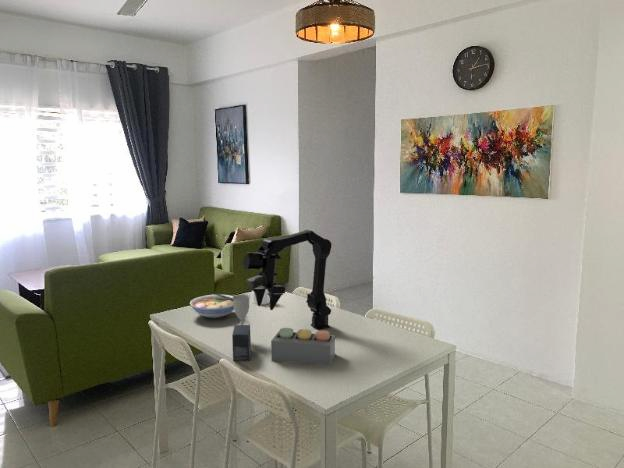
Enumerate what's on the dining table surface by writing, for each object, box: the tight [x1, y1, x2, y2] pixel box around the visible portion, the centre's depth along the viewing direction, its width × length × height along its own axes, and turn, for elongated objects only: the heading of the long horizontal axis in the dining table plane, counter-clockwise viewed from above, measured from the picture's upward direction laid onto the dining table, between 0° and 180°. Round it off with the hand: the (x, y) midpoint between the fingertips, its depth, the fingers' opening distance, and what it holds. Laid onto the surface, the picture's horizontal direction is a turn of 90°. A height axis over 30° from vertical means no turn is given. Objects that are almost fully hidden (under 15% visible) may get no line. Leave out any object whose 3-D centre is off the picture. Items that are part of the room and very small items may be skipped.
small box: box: [231, 324, 252, 362], centre depth 181 cm, size 11×6×10 cm, turn 5°
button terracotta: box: [315, 329, 331, 342], centre depth 179 cm, size 5×5×3 cm
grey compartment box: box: [270, 330, 336, 366], centre depth 180 cm, size 11×22×8 cm, turn 78°
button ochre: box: [297, 328, 312, 340], centre depth 181 cm, size 5×5×3 cm
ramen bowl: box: [189, 292, 235, 319], centre depth 227 cm, size 25×23×8 cm
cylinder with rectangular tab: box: [251, 289, 270, 306], centre depth 250 cm, size 9×9×12 cm
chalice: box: [232, 293, 251, 325], centre depth 197 cm, size 7×7×18 cm
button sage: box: [279, 327, 294, 339], centre depth 182 cm, size 5×5×3 cm
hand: (265, 307), depth 196 cm, fingers open, 9 cm apart
